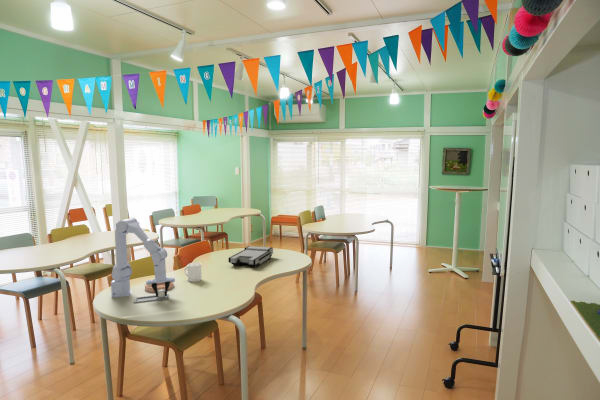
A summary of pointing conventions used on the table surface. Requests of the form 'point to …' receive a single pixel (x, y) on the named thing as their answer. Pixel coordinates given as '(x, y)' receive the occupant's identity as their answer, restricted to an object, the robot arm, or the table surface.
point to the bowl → (159, 287)
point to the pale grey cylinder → (161, 293)
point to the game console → (252, 256)
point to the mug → (193, 272)
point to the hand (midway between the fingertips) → (161, 295)
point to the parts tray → (149, 298)
